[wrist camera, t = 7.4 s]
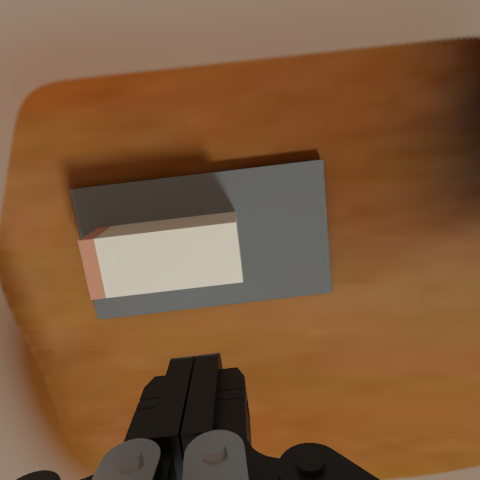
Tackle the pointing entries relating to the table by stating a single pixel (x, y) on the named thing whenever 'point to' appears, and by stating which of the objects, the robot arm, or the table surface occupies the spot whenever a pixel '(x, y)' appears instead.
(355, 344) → the table surface
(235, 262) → the cream block
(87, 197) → the slate mat
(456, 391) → the table surface
